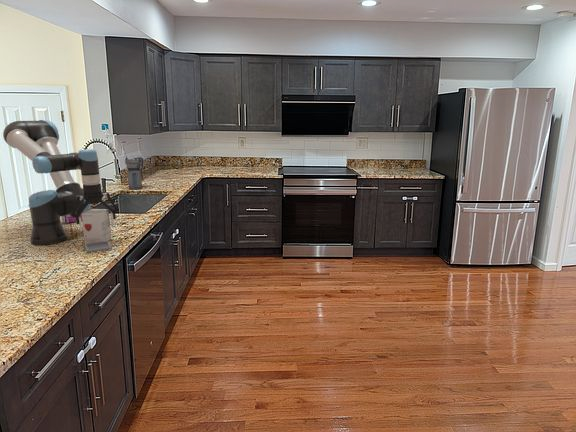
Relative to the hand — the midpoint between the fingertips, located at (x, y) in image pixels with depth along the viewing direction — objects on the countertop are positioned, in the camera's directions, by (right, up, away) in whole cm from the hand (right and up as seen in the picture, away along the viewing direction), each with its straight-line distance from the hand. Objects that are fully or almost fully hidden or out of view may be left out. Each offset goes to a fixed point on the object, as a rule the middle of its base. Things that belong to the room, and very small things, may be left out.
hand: (97, 228), depth 193 cm
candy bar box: (-30, +3, +37) cm, 47 cm away
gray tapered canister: (-29, +27, +130) cm, 136 cm away
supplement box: (0, -7, +2) cm, 7 cm away
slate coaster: (+4, -9, -8) cm, 13 cm away
